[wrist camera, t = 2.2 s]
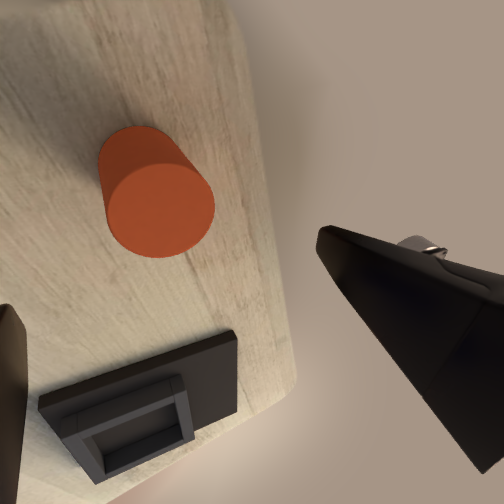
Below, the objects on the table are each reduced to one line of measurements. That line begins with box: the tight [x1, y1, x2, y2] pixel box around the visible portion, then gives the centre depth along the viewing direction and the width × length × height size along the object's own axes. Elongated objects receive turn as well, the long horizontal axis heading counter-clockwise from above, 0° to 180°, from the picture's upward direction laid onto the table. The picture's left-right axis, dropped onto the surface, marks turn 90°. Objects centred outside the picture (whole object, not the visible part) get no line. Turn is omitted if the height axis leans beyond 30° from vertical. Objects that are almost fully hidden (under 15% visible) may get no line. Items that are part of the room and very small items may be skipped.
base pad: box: [38, 330, 237, 485], centre depth 26 cm, size 14×12×2 cm
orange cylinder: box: [98, 126, 215, 258], centre depth 13 cm, size 4×4×5 cm
